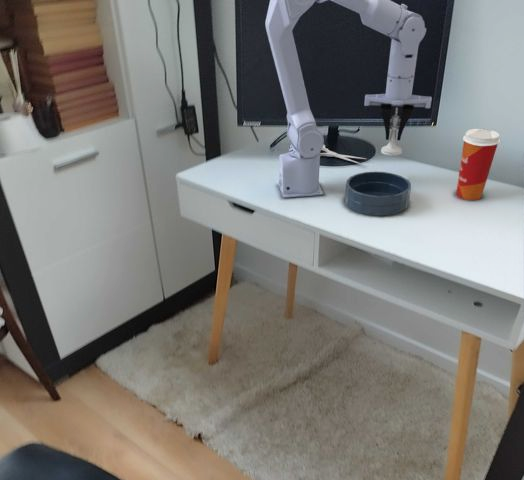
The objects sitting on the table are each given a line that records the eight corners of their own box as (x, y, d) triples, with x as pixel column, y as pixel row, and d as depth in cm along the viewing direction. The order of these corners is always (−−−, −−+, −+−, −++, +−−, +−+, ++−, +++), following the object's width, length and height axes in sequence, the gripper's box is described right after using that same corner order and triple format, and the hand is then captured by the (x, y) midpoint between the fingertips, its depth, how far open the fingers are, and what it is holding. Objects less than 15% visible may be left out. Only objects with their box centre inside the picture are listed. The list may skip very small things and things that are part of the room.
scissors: (312, 141, 155) (376, 154, 145) (312, 144, 155) (376, 157, 146) (291, 153, 148) (357, 167, 139) (291, 155, 149) (357, 170, 139)
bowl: (353, 218, 118) (355, 199, 116) (338, 192, 129) (339, 173, 127) (417, 213, 120) (420, 194, 117) (396, 188, 131) (399, 169, 128)
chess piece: (400, 148, 131) (406, 104, 125) (402, 155, 128) (409, 110, 121) (380, 148, 132) (385, 104, 125) (381, 155, 128) (386, 110, 122)
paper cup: (456, 186, 131) (468, 125, 122) (489, 192, 127) (504, 130, 119) (447, 198, 125) (459, 136, 116) (481, 205, 122) (497, 141, 113)
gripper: (365, 78, 117) (360, 142, 126) (435, 80, 115) (424, 146, 123) (368, 71, 123) (362, 132, 131) (434, 72, 120) (424, 135, 129)
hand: (392, 138), depth 128 cm, fingers closed on chess piece
